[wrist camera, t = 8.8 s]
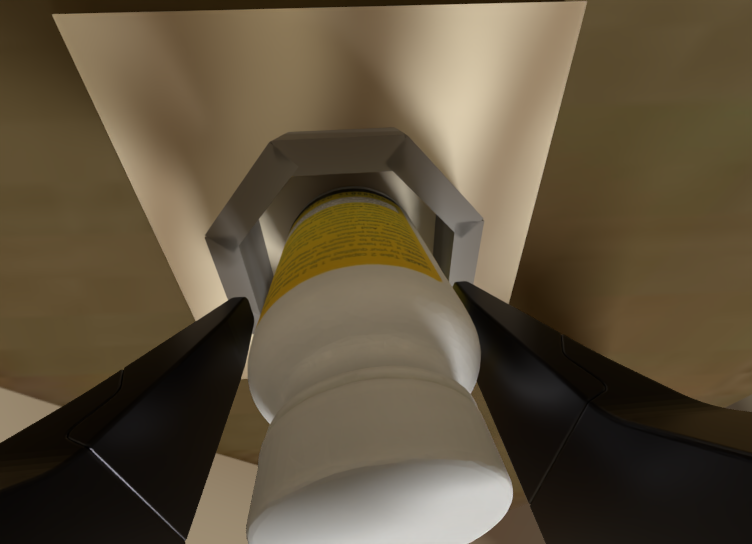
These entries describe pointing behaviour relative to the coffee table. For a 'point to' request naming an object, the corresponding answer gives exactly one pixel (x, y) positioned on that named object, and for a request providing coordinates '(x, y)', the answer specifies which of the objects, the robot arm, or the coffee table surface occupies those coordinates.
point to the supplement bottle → (368, 389)
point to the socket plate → (329, 126)
